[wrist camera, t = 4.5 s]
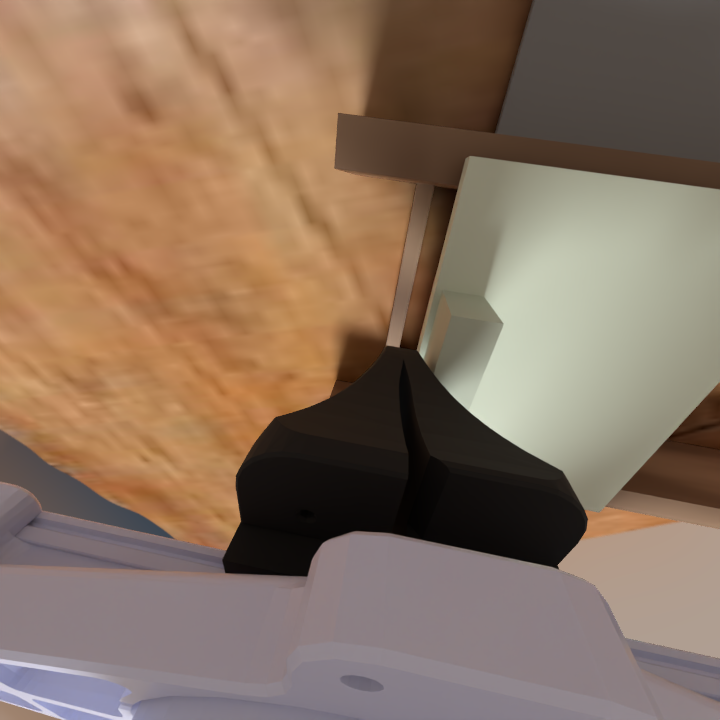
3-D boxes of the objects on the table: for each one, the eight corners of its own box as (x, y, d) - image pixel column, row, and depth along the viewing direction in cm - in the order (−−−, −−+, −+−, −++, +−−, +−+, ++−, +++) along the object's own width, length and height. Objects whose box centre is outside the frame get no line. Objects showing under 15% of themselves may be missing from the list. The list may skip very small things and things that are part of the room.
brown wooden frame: (725, 469, 20) (815, 547, 16) (334, 396, 22) (316, 449, 17) (1005, 224, 12) (1344, 244, 8) (360, 137, 14) (338, 112, 9)
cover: (591, 498, 16) (631, 565, 13) (389, 459, 16) (385, 514, 14) (839, 209, 9) (1049, 218, 6) (465, 158, 9) (490, 144, 6)
